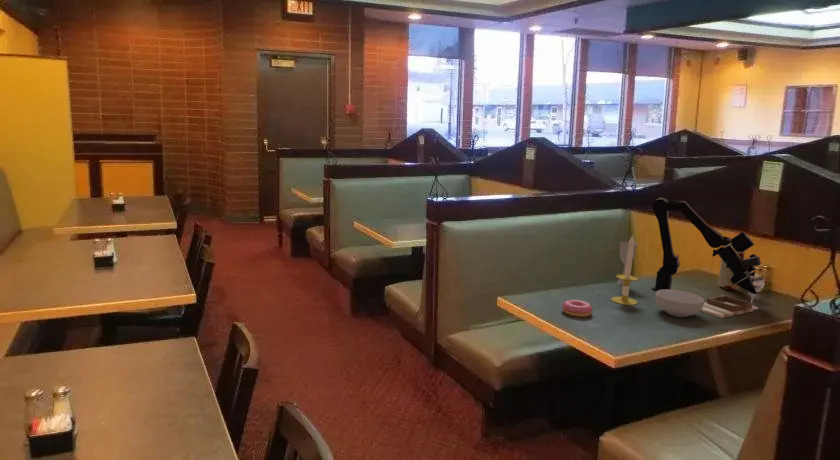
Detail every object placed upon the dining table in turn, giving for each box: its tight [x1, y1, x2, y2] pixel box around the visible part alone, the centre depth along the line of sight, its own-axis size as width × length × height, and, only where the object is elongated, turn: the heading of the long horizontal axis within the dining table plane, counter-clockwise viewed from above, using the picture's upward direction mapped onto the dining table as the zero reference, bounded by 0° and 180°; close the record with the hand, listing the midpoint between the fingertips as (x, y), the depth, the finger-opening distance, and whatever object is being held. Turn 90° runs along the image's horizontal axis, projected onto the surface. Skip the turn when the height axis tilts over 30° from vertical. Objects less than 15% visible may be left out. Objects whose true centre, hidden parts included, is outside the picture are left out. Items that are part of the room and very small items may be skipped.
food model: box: [717, 243, 746, 291], centre depth 275 cm, size 10×7×20 cm
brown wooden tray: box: [700, 294, 754, 319], centre depth 245 cm, size 21×13×3 cm, turn 123°
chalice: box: [617, 241, 638, 286], centre depth 273 cm, size 7×7×18 cm
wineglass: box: [750, 275, 766, 310], centre depth 250 cm, size 7×7×12 cm
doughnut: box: [561, 299, 594, 318], centre depth 230 cm, size 11×11×4 cm
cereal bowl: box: [655, 289, 705, 318], centre depth 236 cm, size 17×17×7 cm
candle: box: [610, 234, 639, 306], centre depth 246 cm, size 10×10×27 cm
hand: (757, 292), depth 249 cm, fingers closed on wineglass, 6 cm apart
